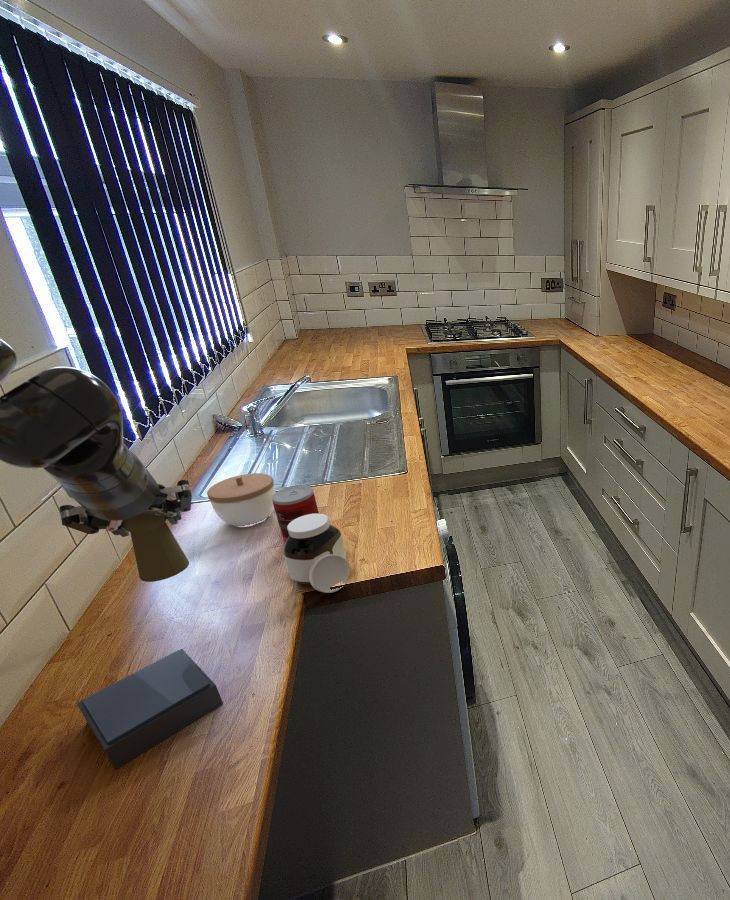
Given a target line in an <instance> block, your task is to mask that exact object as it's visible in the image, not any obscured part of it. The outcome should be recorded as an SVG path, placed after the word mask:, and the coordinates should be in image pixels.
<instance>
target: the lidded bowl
mask: <svg viewBox="0 0 730 900" xmlns="http://www.w3.org/2000/svg"><path fill="white" fill-rule="evenodd" d="M276 492H277V490H276V487H275V481H274V477H273V476H271V475H270V474H267V473H261V472H255V473H254V472H253V473H244V474H239V475H235V476H231V477H229V478H226V479H222V480H221V481H218V482H216V483H215V484H213V485H211V486H210V487H209V488H208V489H207V491H206V495H207V498H208V500H209V501H210V505H211V508H212V509H213V511H214V513H215V514H216V516H217V517H218V518H219V519H220V520H221V521H223V522H224V523H226V524H228V525H231V526H233V525H234V526H245V525H250V524H254V523H257V522H259V521H262V520H264V519H265V518H267V517H268V516H269V517H270V515H271V514H272V513H273V511H275V509H274V506H273V502H272V496H273V495H274V494H275V493H276ZM234 526H233V527H234Z"/></svg>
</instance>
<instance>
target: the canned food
mask: <svg viewBox="0 0 730 900" xmlns="http://www.w3.org/2000/svg"><path fill="white" fill-rule="evenodd" d="M272 502H273V506H274V512H275V515H276V519H277V523H278V525H279V530H280V533H281V536H282V539H283V542H284V544H286V541H287V539H288V537H289V536H290V535H289V532H288V529H287V526H288V524H289V523H290V522H291V521H293V520H294V519H296V518H299V517H301V516H304V515H308V514H320V512H319V508H318V504H317V500H316V496H315V492H314V490H313V487H312V486H310V485H306V484H299V485H298V484H297V485H292V486H288V487H284V488H282V489H280V490H278V491H276V493H275V494H274V495H273V496H272Z"/></svg>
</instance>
